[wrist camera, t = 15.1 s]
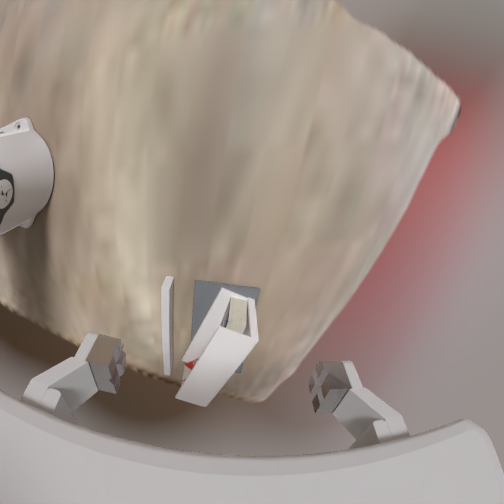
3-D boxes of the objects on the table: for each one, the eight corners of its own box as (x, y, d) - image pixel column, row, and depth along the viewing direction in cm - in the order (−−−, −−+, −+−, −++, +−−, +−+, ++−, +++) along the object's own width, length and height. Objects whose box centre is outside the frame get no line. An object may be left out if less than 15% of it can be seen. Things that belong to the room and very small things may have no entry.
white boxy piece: (222, 286, 42) (219, 326, 34) (254, 299, 44) (258, 340, 35) (179, 362, 50) (172, 401, 41) (206, 371, 51) (203, 410, 43)
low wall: (167, 361, 50) (164, 374, 47) (166, 275, 42) (161, 288, 39) (173, 362, 51) (170, 375, 47) (173, 276, 42) (169, 289, 39)
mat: (190, 364, 51) (189, 367, 50) (195, 280, 42) (194, 282, 42) (240, 370, 52) (240, 372, 52) (259, 288, 44) (259, 290, 43)
